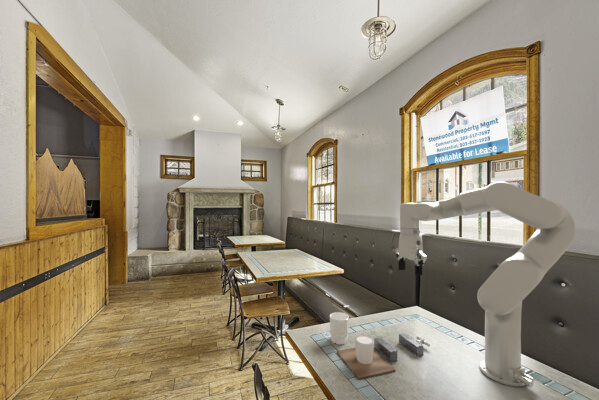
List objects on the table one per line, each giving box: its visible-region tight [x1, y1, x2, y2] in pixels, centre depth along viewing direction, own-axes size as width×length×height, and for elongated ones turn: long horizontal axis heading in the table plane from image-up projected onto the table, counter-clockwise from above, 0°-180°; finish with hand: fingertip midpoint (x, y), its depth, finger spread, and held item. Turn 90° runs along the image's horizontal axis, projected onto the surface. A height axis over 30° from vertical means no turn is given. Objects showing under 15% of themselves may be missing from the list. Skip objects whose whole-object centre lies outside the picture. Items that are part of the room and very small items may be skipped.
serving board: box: [336, 347, 396, 380], centre depth 95 cm, size 16×14×1 cm
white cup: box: [329, 311, 350, 345], centre depth 109 cm, size 8×8×10 cm
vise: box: [373, 332, 431, 363], centre depth 102 cm, size 10×20×4 cm, turn 108°
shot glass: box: [354, 334, 375, 364], centre depth 95 cm, size 7×7×7 cm
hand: (410, 272), depth 112 cm, fingers open, 9 cm apart
